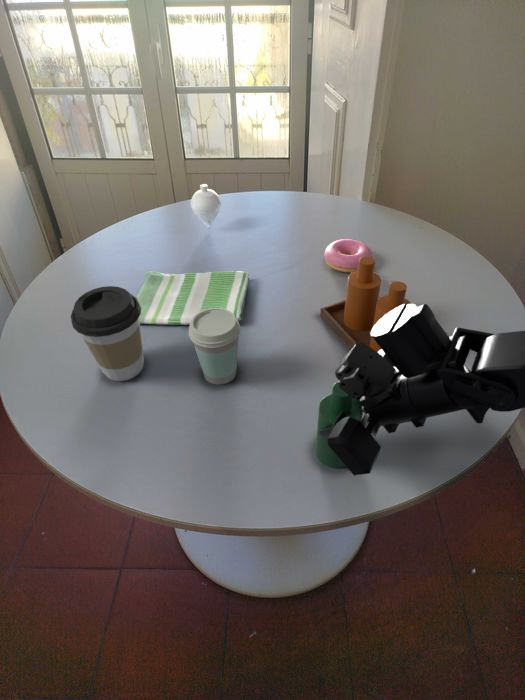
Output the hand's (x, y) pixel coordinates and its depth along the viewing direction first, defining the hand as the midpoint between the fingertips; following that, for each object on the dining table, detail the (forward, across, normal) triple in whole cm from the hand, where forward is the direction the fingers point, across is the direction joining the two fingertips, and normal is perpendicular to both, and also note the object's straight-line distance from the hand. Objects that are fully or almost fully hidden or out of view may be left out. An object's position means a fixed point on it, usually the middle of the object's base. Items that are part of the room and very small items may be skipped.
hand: (330, 418), depth 67 cm
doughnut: (+18, -50, -7) cm, 54 cm away
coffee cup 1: (+34, +2, -23) cm, 41 cm away
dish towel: (+34, -21, -24) cm, 47 cm away
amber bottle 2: (+4, -25, +5) cm, 26 cm away
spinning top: (+45, -49, -35) cm, 75 cm away
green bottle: (+4, 0, +6) cm, 7 cm away
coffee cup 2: (+22, -6, -12) cm, 25 cm away
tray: (+5, -26, +5) cm, 26 cm away
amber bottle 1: (+10, -30, 0) cm, 32 cm away
